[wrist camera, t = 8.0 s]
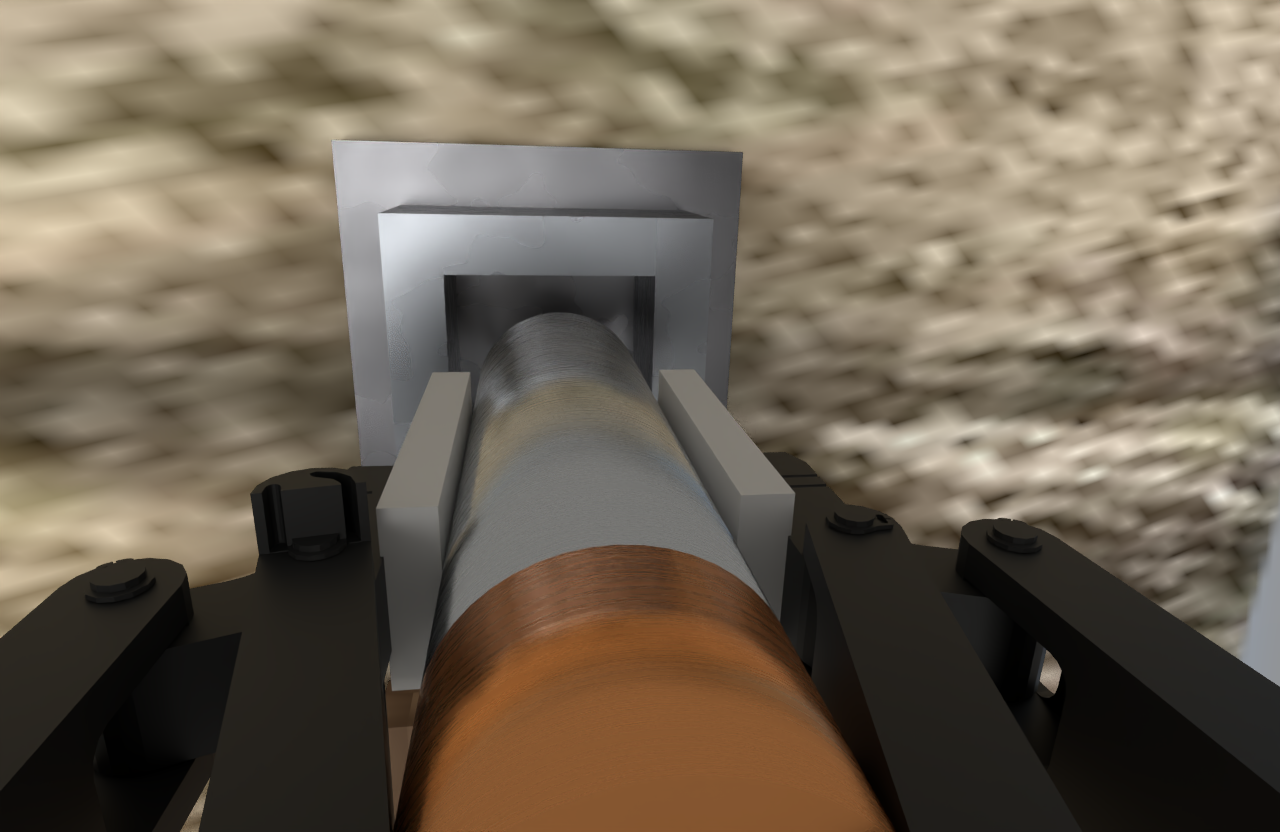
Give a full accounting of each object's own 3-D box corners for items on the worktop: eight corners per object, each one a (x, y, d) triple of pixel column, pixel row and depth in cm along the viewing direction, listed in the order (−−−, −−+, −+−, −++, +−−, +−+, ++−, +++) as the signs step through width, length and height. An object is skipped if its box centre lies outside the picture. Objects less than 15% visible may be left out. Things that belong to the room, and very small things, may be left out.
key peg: (481, 467, 20) (382, 1243, 6) (475, 312, 18) (326, 809, 4) (636, 463, 20) (899, 1157, 6) (641, 312, 19) (982, 750, 5)
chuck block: (373, 509, 27) (342, 584, 22) (340, 140, 23) (295, 135, 18) (712, 496, 28) (750, 563, 24) (732, 152, 25) (783, 150, 20)
